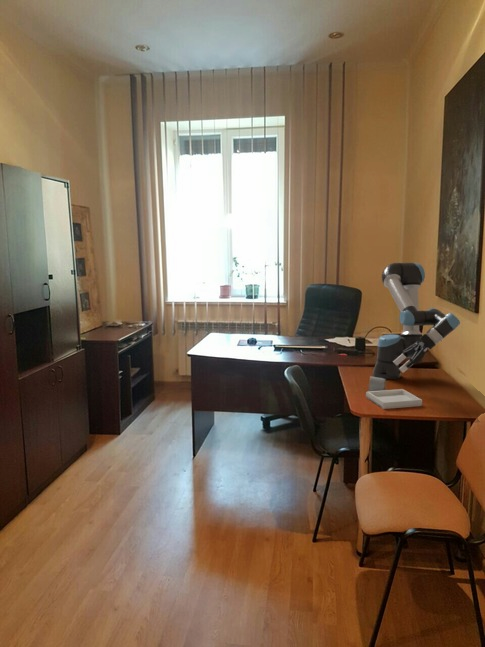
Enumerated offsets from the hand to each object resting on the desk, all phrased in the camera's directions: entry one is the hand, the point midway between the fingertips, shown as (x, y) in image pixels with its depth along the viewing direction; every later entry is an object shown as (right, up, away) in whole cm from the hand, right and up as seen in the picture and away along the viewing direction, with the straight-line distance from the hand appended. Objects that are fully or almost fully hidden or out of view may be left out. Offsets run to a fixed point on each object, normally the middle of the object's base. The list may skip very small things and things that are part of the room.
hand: (397, 367), depth 232 cm
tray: (-6, -15, -11) cm, 20 cm away
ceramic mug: (-9, -13, +5) cm, 17 cm away
